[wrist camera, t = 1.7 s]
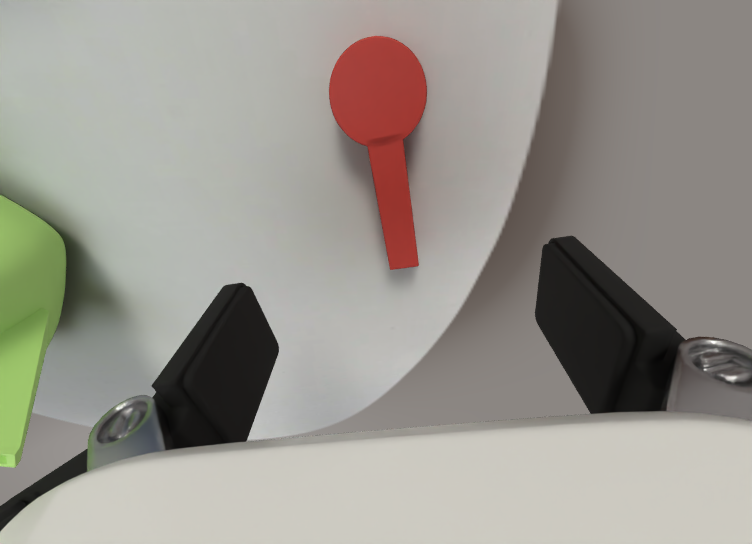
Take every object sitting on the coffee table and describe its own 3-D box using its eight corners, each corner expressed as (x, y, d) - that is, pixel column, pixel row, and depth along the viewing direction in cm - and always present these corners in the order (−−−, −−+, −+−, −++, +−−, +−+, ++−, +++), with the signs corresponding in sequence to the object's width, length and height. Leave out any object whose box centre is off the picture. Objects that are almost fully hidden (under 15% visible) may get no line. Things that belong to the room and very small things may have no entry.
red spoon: (370, 256, 19) (369, 273, 18) (324, 49, 14) (317, 48, 12) (436, 247, 19) (441, 263, 17) (417, 28, 13) (421, 25, 12)
